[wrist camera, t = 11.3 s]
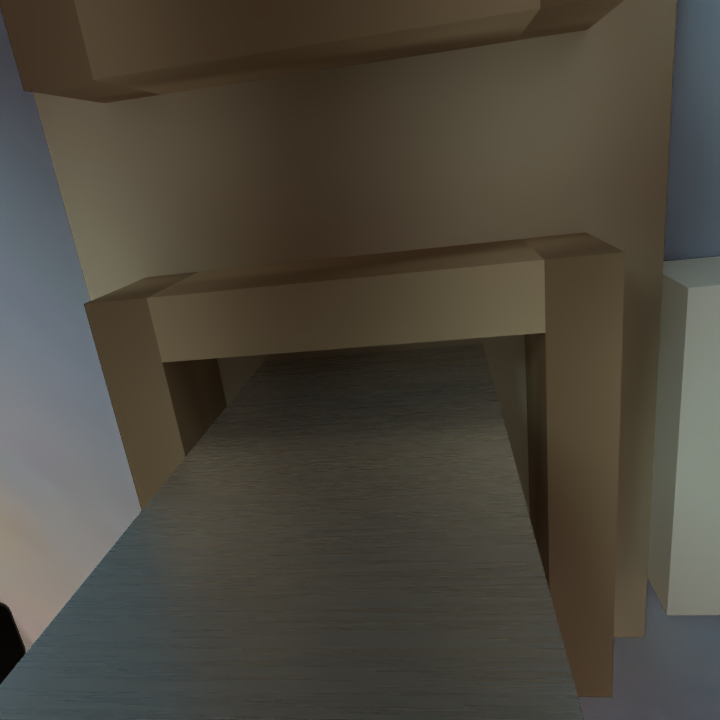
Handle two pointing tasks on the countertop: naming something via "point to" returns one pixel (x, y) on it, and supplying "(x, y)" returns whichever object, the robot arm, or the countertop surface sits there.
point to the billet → (321, 565)
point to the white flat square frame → (687, 442)
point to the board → (382, 228)
